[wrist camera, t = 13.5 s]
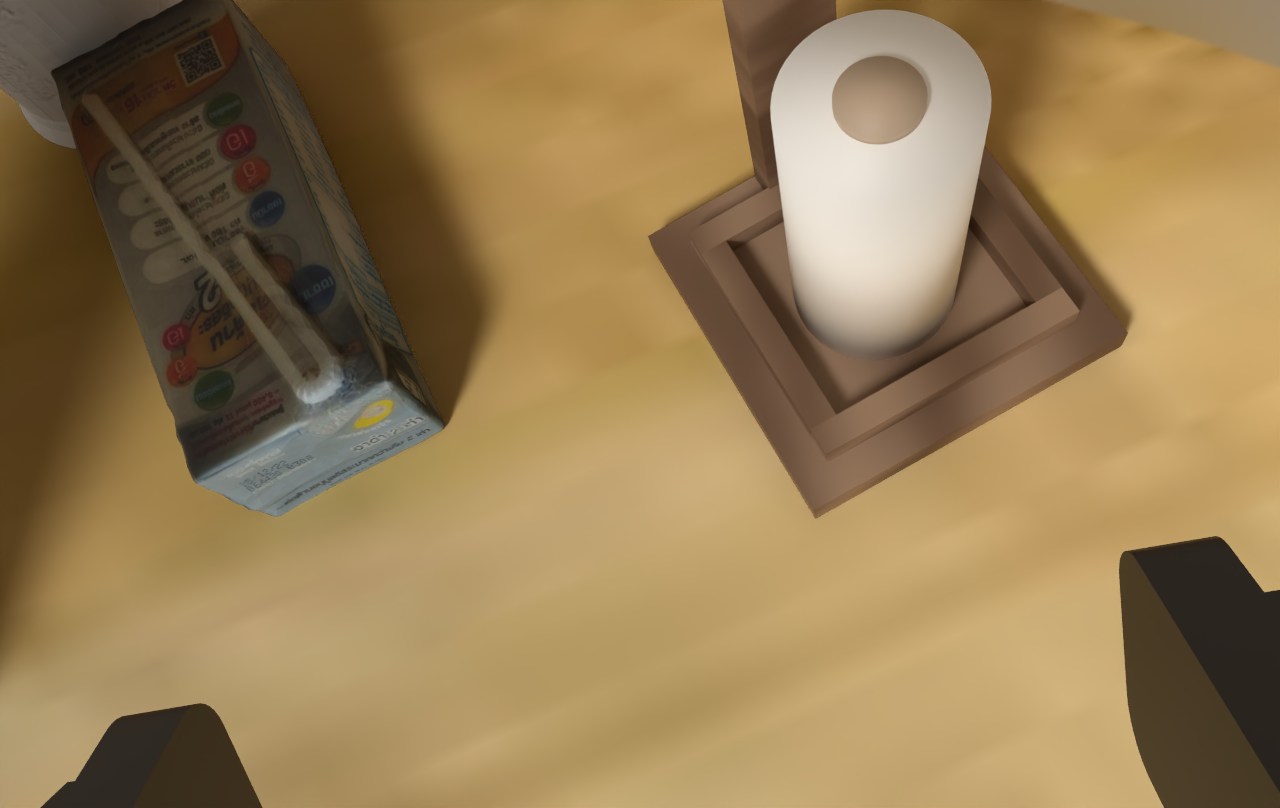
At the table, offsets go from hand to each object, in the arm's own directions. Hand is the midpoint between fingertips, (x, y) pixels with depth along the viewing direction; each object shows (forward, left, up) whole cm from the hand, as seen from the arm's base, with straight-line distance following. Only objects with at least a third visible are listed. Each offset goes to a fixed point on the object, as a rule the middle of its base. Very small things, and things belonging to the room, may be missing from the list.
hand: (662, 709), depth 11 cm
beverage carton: (-9, +27, -31) cm, 42 cm away
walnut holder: (+10, +14, -30) cm, 35 cm away
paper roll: (+10, +14, -29) cm, 34 cm away
